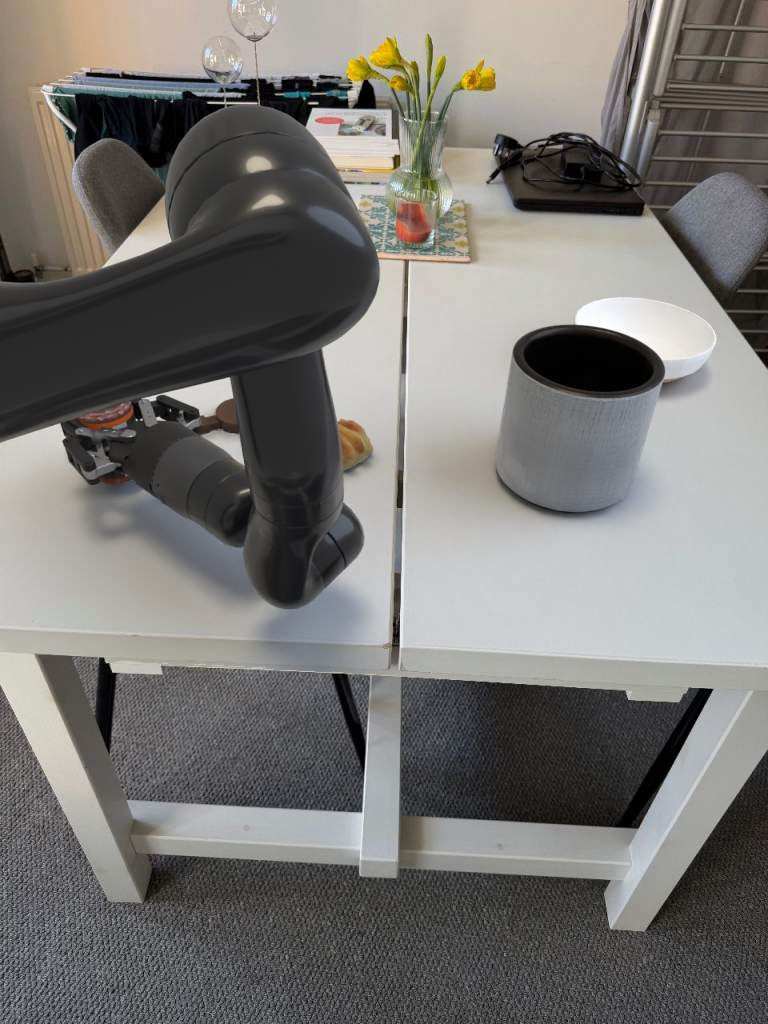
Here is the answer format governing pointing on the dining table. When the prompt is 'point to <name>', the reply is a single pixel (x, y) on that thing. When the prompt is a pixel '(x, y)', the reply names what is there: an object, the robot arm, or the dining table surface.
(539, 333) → the planter
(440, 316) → the dining table surface
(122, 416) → the supplement bottle
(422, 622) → the dining table surface
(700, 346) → the bowl
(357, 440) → the pastry
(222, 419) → the spoon
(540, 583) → the dining table surface
